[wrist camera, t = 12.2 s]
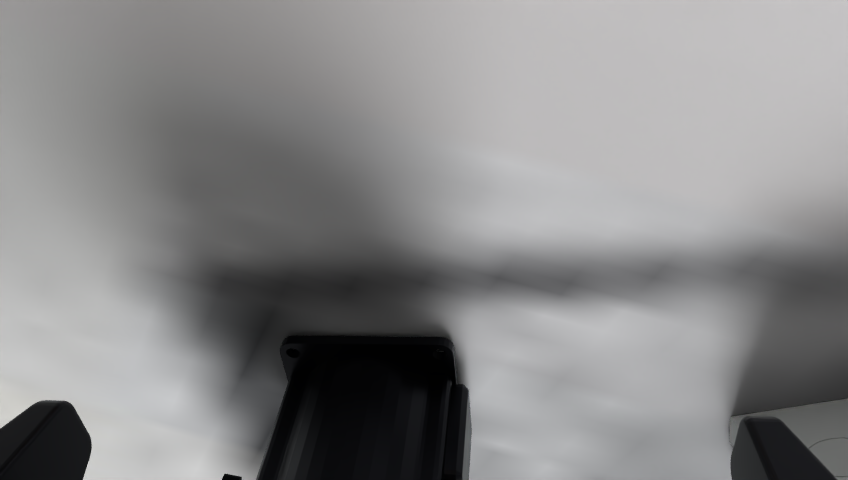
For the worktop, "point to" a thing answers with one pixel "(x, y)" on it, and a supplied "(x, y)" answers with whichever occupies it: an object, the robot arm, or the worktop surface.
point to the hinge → (815, 431)
